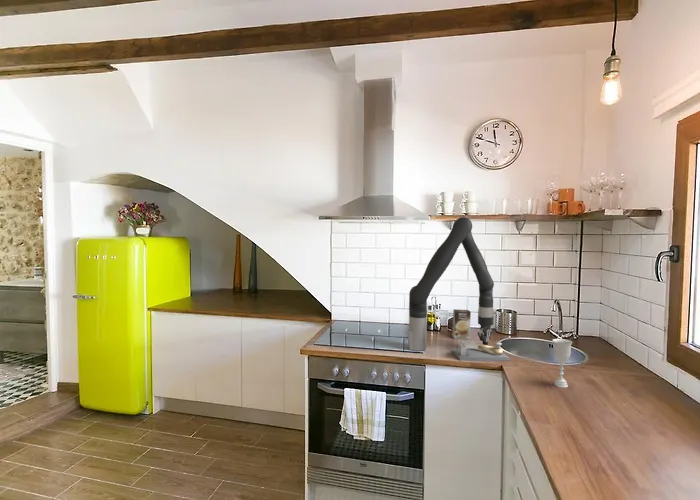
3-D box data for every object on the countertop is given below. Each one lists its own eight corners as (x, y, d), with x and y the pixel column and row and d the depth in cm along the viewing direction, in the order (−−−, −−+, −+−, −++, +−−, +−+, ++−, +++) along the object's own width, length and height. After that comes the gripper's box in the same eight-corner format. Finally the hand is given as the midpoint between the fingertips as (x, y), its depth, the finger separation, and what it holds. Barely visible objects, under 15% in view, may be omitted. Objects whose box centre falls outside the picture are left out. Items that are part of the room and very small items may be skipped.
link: (503, 354, 191) (504, 349, 191) (500, 355, 188) (500, 350, 188) (470, 346, 204) (470, 341, 204) (466, 347, 201) (466, 342, 201)
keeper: (462, 360, 186) (462, 345, 186) (457, 354, 195) (457, 340, 195) (477, 360, 186) (477, 345, 186) (471, 354, 195) (471, 340, 195)
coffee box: (454, 338, 225) (454, 311, 224) (452, 335, 231) (452, 309, 231) (470, 339, 224) (470, 311, 223) (467, 336, 231) (468, 309, 230)
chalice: (560, 389, 153) (561, 344, 152) (547, 382, 160) (548, 339, 159) (575, 387, 155) (576, 342, 154) (561, 381, 162) (563, 338, 161)
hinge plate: (460, 360, 187) (460, 345, 186) (452, 351, 201) (452, 337, 200) (509, 360, 187) (510, 345, 187) (498, 351, 201) (498, 337, 201)
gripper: (484, 312, 206) (484, 344, 207) (472, 316, 197) (472, 349, 198) (498, 314, 201) (497, 347, 202) (486, 318, 191) (486, 353, 192)
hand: (485, 348), depth 200 cm, fingers closed
